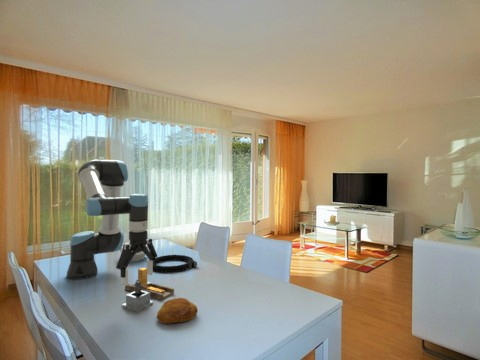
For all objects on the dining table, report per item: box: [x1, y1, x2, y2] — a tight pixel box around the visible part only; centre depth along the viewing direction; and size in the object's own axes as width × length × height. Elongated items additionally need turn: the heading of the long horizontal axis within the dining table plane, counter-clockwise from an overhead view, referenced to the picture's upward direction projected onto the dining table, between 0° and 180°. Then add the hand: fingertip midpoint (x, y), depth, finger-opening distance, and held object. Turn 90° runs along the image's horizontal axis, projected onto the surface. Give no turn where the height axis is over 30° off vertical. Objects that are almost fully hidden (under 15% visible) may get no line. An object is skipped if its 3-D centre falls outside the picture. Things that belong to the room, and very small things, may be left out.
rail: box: [124, 279, 175, 301], centre depth 141 cm, size 24×8×2 cm, turn 61°
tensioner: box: [133, 267, 164, 293], centre depth 140 cm, size 16×5×9 cm, turn 61°
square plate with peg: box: [121, 280, 154, 313], centre depth 126 cm, size 9×9×10 cm
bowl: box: [119, 241, 148, 262], centre depth 194 cm, size 18×18×9 cm
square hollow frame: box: [125, 290, 151, 308], centre depth 126 cm, size 7×7×4 cm
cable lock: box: [153, 254, 198, 273], centre depth 180 cm, size 28×4×30 cm
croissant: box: [156, 297, 198, 324], centre depth 117 cm, size 14×16×8 cm
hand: (137, 279), depth 126 cm, fingers open, 13 cm apart
